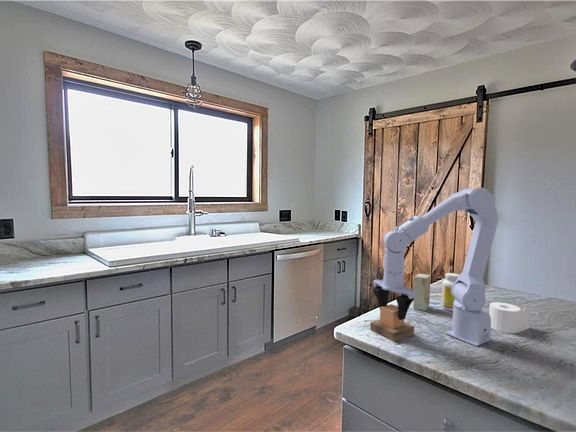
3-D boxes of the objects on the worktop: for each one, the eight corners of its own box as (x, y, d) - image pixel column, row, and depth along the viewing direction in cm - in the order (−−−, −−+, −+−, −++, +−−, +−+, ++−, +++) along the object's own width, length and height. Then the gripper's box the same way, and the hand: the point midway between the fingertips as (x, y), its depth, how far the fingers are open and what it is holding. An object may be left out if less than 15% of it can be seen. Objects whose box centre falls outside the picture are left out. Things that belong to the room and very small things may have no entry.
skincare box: (425, 311, 116) (426, 278, 116) (412, 309, 119) (413, 276, 118) (429, 306, 122) (431, 274, 121) (417, 304, 124) (418, 272, 123)
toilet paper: (529, 328, 103) (531, 306, 103) (510, 335, 98) (512, 313, 97) (502, 319, 110) (503, 299, 110) (483, 325, 105) (484, 304, 104)
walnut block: (413, 336, 98) (414, 326, 98) (393, 343, 93) (393, 333, 93) (390, 325, 106) (390, 316, 105) (370, 331, 101) (370, 322, 101)
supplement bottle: (464, 312, 116) (466, 276, 115) (446, 311, 117) (447, 276, 116) (455, 305, 123) (457, 272, 122) (438, 305, 123) (439, 272, 122)
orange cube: (404, 325, 98) (404, 309, 98) (392, 328, 96) (393, 312, 95) (391, 319, 103) (391, 304, 102) (379, 322, 100) (380, 307, 100)
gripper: (366, 267, 102) (365, 309, 103) (404, 278, 90) (402, 326, 91) (382, 265, 106) (381, 305, 107) (421, 275, 93) (419, 321, 94)
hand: (392, 315), depth 99 cm, fingers open, 7 cm apart
